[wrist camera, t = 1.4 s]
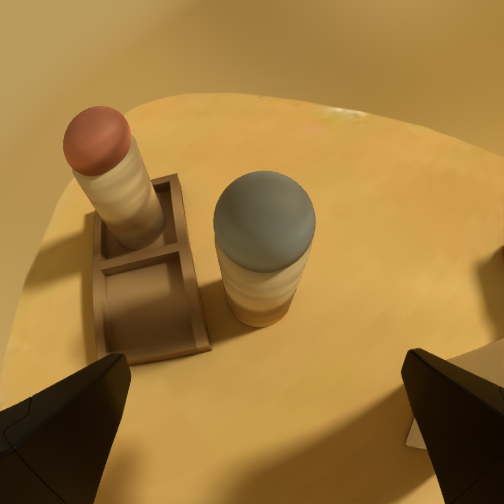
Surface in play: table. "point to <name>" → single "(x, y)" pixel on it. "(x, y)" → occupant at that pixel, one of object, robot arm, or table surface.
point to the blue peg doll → (262, 244)
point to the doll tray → (148, 289)
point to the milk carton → (479, 363)
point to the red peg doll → (114, 176)
